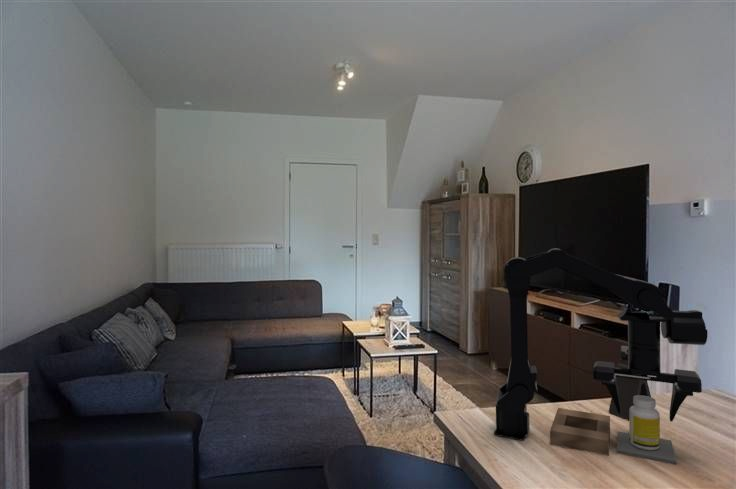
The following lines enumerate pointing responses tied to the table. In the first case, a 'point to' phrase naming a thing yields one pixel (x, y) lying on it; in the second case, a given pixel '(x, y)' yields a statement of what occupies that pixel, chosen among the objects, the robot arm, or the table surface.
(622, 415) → the phone stand
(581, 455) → the table surface
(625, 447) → the coaster
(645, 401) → the supplement bottle
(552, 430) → the pocket holder
